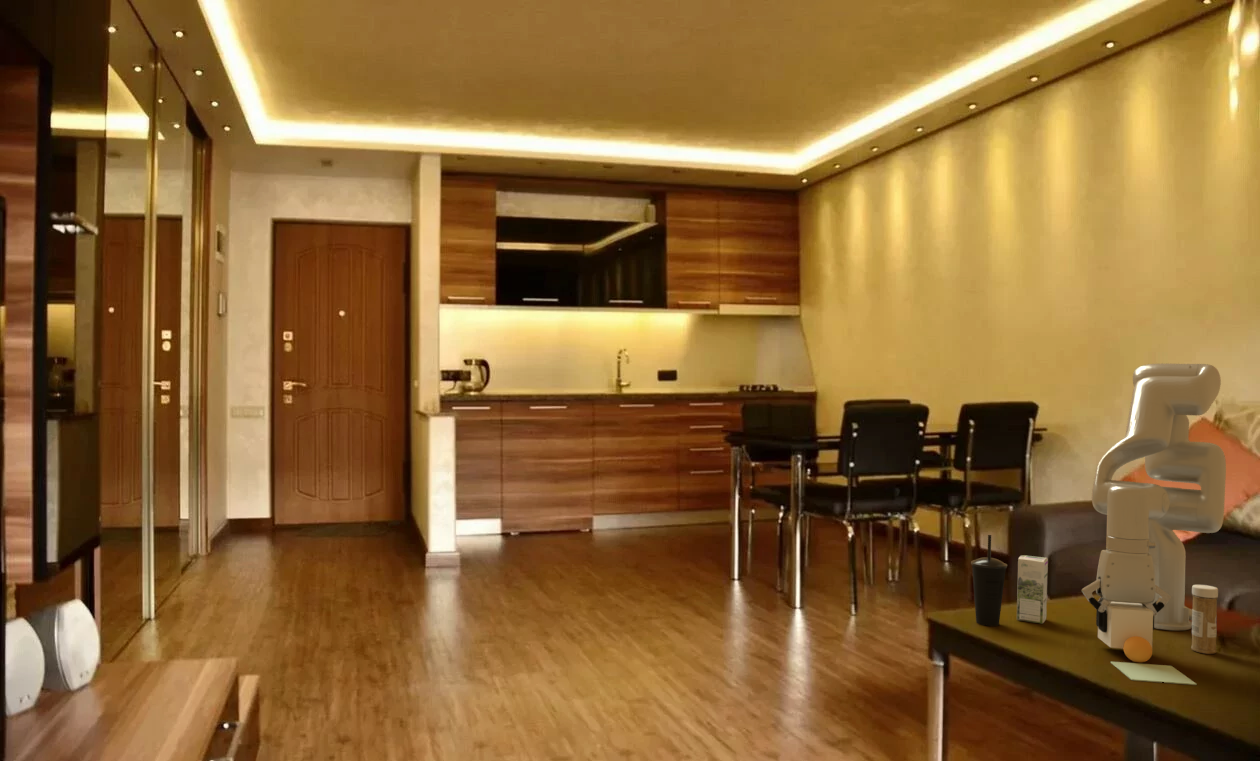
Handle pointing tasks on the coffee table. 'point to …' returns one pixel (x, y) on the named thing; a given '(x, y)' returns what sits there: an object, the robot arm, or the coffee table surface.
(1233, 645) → the coffee table surface
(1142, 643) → the ball
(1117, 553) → the robot arm
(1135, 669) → the mark
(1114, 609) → the cream matte cube
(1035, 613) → the syrup box
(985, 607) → the drinking cup
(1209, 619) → the sprinkles bottle
